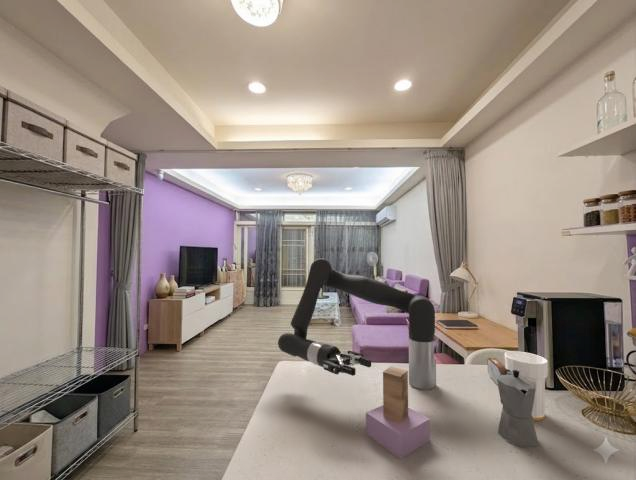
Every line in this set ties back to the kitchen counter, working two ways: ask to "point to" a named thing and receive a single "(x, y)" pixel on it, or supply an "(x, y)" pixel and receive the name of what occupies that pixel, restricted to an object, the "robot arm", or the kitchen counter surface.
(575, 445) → the kitchen counter surface
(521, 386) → the coffeepot
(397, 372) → the walnut block
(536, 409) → the cup
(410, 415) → the base block
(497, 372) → the tin
